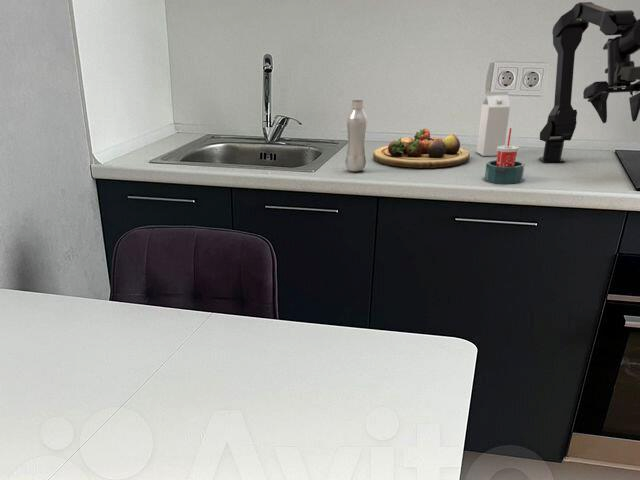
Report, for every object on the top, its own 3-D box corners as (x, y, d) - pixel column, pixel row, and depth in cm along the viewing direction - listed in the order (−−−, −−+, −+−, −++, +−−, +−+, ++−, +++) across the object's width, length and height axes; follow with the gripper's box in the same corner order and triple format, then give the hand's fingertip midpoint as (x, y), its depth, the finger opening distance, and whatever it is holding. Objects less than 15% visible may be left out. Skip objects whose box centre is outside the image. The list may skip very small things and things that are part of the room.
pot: (525, 176, 221) (528, 160, 218) (516, 186, 210) (519, 169, 208) (490, 173, 225) (492, 157, 222) (480, 183, 214) (482, 167, 212)
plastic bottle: (367, 169, 233) (370, 99, 222) (362, 173, 228) (365, 102, 217) (348, 168, 235) (350, 99, 224) (342, 172, 230) (344, 102, 219)
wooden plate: (390, 147, 262) (392, 122, 258) (479, 153, 251) (482, 127, 246) (359, 165, 239) (360, 137, 234) (455, 172, 227) (458, 143, 222)
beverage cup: (518, 179, 217) (526, 128, 209) (504, 183, 214) (511, 130, 206) (502, 176, 221) (509, 125, 213) (488, 179, 218) (495, 128, 210)
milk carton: (476, 152, 252) (483, 90, 241) (496, 151, 253) (504, 90, 242) (482, 156, 246) (490, 93, 236) (503, 155, 247) (512, 92, 236)
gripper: (606, 51, 191) (607, 114, 194) (669, 48, 194) (669, 111, 197) (581, 67, 202) (582, 127, 205) (642, 64, 205) (642, 123, 208)
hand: (619, 122), depth 204 cm, fingers open, 9 cm apart
